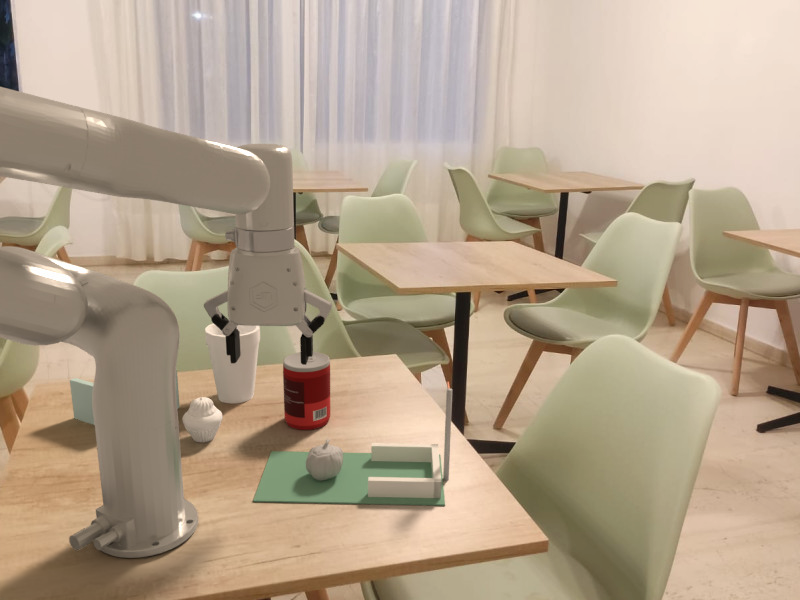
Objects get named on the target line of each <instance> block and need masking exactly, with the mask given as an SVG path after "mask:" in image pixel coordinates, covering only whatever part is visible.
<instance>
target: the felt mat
mask: <svg viewBox="0 0 800 600" xmlns="http://www.w3.org/2000/svg"><path fill="white" fill-rule="evenodd" d="M342 452H343V451H342ZM308 454H309V451H290V450H289V451H284V450H283V451H282V450H271V451H270V454H269V457H268V459H267V462H266V465H265V468H264V469H263V473H262V476H261V478H260V481H259V483H258V487H257V488H256V491H255V494H254V497H253V501H252V502H253V503H290V504H291V503H293V504H294V503H295V504H297V503H298V504H343V505H345V504H347V505H349V504H350V505H353V504H354V505H387V506H389V505H391V506H392V505H393V506H394V505H395V506H396V505H397V506H398V505H399V506H400V505H402V506H436V507H437V506H441V507H443V506H446V501H445V491H444V480H443V469H442V468H443V467H442V458H441V457H442V456H441V453H439V461H440V472H441V498H401V497H368V477H399V478H432V468H431V462H394V461H371V452H343V465H342V468H341V471H340V472H339V474H338V475H336V476H335V477H333V478H330V479H327V480H322V481H320V480H316V479H315V478H313V476H312V475H311V474H310V473H309V472H308V471H307V469H306V459H307V457H308Z"/></svg>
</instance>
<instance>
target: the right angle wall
mask: <svg viewBox="0 0 800 600" xmlns="http://www.w3.org/2000/svg"><path fill="white" fill-rule="evenodd" d="M178 381H179V379H178V370H177V369H176V398H177V410H178V409H180V408H181V407H180V405H181V404H180V393H179V392H180V391H179V382H178ZM93 384H94V382H92V381H88V380H84V379H81V378H77V377H73V378H70V379H69V385H70V394H71V403H72V411H73V418H75V420H77V419H78V421H81V422H83V423H88V424H90V425H93V426H95V424H94V418H93V407H92V392H93Z"/></svg>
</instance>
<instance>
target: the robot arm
mask: <svg viewBox="0 0 800 600" xmlns="http://www.w3.org/2000/svg"><path fill="white" fill-rule="evenodd" d="M0 177H3V178H9V179H12V180H13V179H15V180H18V181H19V180H21V181H28V182H31V183H32V182H33V183H39V184H45V185H50V186H51V185H52V186H56V187H62V188H66V189H67V188H68V189H72V190H73V189H74V190H78V191H84V192H90V193H96V194H101V195H106V196H112V197H119V198H129V199H139V200H141V199H143V200H148V201H149V200H151V201H157V202H158V201H159V202H165V203H171V204H175V205H182V206H186V207H187V206H188V207H193V208H197V209H205V210H210V211H216V212H221V213H226V214H231V215H235V227H234V229H229V230H228V229H227V230H226V231H225V241H231V242H233V243H234V244H235V248H233V249H232V250H231V251H230V255H229V263H228V273H227V275H228V276H227V290H225V291H223V292H222V293H219V294H217V295H215V296H213V297H211V298H209V299H207V300H206V301H205V302H204V304H203V309H204V310H205V311H206V314H207V315H208V316H209V317H210V319H211V322H212V324H213V323H214V324H215V325H216V326H217V327H218V328H219V329H220V330H221V331H222V333H223V335H225V336H226V353H227V355H230V360H231V363H236V362H237V361H238V359H239V357H240V355H241V352H240V332H239V331H238V329H237V326H238V325H247V326H259V327H293V326H295V327H296V328H298V330H299V331H300V332H301V333H302V334H301V335H300V338H299V342H300V344H299V346H300V352H301V364H302V365H306V364H307V361H308V358H309V357H312V355H313V352H314V343H313V342H314V339H313V338H314V336H313V335H314V334H315V333H316V332H317V331H318V330H319V329H320V328H321V327H322V326H323V325H324V324H325V322H326V320H327V318H328V316H329V314H330V313H331V310H332V307H333V304H332V302H331V301H329V300H327V299H325V298H323V297H321V296H319V295H317V294H315V293H314V292H311V291H310V290H308V289H306V279H305V271H304V266H303V265H304V264H303V259H302V255H301V251H300V248H299V247H296V246H295V222H294V221H295V219H294V218H295V217H294V215H295V213H294V177H293V156H292V153H291V150H290V149H289V148H288V147H287V146H285V145H282V144H275V143H249V144H242V145H239V146H232V145H229V144H228V145H227V144H225V143H224V144H223V143H220V142H216V141H212V140H207V139H204V138H201V137H196V136H191V135H187V134H184V133H180V132H175V131H172V130H167V129H163V128H160V127H159V128H158V127H155V126H152V125H148V124H145V123H142V122H140V121H139V122H138V121H136V120H131V119H129V118H125V117H122V116H117V115H113V114H109V113H105V112H101V111H97V110H94V109H93V110H92V109H88V108H84V107H81V106H76V105H73V104H69V103H65V102H61V101H58V100H57V101H56V100H54V99H50V98H45V97H41V96H37V95H34V94H30V93H26V92H22V91H18V90H15V89H11V88H7V87H3V86H0ZM226 303H227V316H225V314H223V313H222V312H221V311H220V308H219V307H220V306H221V305H223V304H226ZM307 304H308V305H310V306H313V307H315V308H317V309H318V310H319V312H318V314H317V315H316V316H315V317H314V318H313V319H312V320H311V319H310V318H309V316H308V315H306V313H307ZM227 317H228V318H227ZM229 320H230V321H229ZM0 338H2V339H5V340H9V341H12V342H14V343H19V344H20V345H21V344H22V345H28V346H34V347H35V346H51V345H55V344H59V343H64V344H68V345H72V346H75V347H77V348H79V349H80V350H82V351H84V352H85V353H87V354H88V355H89V356H91V357H93V359H94V362H95V364H94V365H95V371H94V372H95V374H94V379H93V383H94V384H93V392H92V407H93V418H94V424H95V425H94V430H95V441H96V451H97V459H98V471H99V479H100V487H101V496H102V497H101V498H102V505H100V506H99V507H97V508H96V509H95V516H96V518H95V519H93V520H92V521H91V522H90V525H88V526H87V527H85V528H82V529H80V530H79V531H77V532H75V533H73V534H72V535H69V538H68V541H69V544H70V546H71V548H72V549H73V550H74V551H79V550H82V549H83V548H85V547H87V546H88V545H91V543H92V542H93V546H94V548H95V549H96V550H97V551H101V552H102V553H105V554H108V555H110V556H114V557H118V558H123V559H124V558H125V559H126V558H127V559H133V558H135V559H136V558H137V559H139V558H145V557H151V556H156V555H159V554H162V553H165V552H168V551H170V550H172V549H174V548H177V547H179V546H180V545H182V544H183V543H184V542H186V541H187V540H188V539H189V538H190V537H191V536H192V535H193V534H194V532H195V531H196V529H197V527H198V525H199V515H198V513H199V512H198V509H197V508H196V506H195V505H194V504H193V503H192V502H191V501H189V500H187V499H186V498H185V495H184V494H185V492H184V491H185V490H184V481H183V467H182V465H183V464H182V454H181V453H182V452H181V440H180V439H181V438H180V426H179V425H180V423H179V414H178V413H179V411H178V409H177V398H176V370H177V362H178V355H179V354H178V353H179V349H180V326H179V322H178V319H177V316H176V314H175V312H174V311H173V309H172V308H171V306H169V305H168V304H167V302H165V300H164V299H163V298H161V297H160V296H158V295H157V294H155V293H153V292H151V291H149V290H147V289H145V288H142V287H140V286H137V285H135V284H133V283H129V282H125V281H123V280H121V279H119V278H116V277H114V276H111V275H108V274H105V273H102V272H99V271H95V270H92V269H89V268H87V267H86V268H85V267H83V266H80V265H76V264H74V263H70V262H67V261H66V260H65V261H64V260H61V259H59V258H58V259H57V258H55V257H51V256H49V255H46V254H42V253H39V252H37V251H34V250H30V249H27V248H23V247H19V246H13V245H12V246H11V245H8V246H6V245H5V246H0Z"/></svg>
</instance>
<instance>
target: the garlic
mask: <svg viewBox="0 0 800 600" xmlns="http://www.w3.org/2000/svg"><path fill="white" fill-rule="evenodd" d="M330 441H331V440H330V438H326V440H325V443H324V444H323V443H322V444H319V445H316V446H314V447H311V449H310V450H309V451H308V452H309V454H308V457H307V459H306V469H307V471H308V472H309V473H310V474H311V475H312V476H313V478H315V479H316V480H320V481H322V480H327V479H330V478H333V477H335V476H336V475H338V474H339V472H340V471H341V468H342V465H343V449H342V448H341V447H340V446H336V445H332V444H329V443H330Z"/></svg>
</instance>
